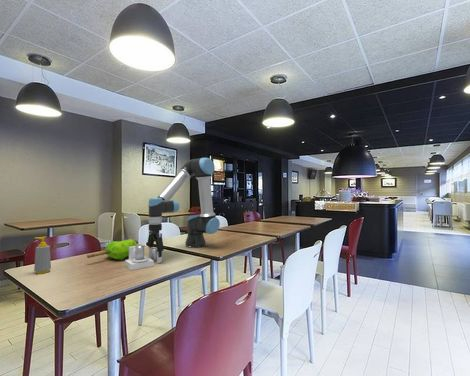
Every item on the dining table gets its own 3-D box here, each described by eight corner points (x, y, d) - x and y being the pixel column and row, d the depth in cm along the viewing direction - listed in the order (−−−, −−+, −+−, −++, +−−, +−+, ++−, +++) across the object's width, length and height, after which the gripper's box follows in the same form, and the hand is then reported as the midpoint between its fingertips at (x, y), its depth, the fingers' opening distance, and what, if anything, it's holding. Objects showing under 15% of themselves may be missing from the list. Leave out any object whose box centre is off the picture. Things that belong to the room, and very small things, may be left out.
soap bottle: (33, 271, 133) (33, 236, 133) (50, 269, 137) (50, 235, 137) (34, 275, 127) (34, 238, 128) (51, 272, 132) (51, 236, 132)
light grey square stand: (146, 261, 151) (146, 244, 151) (154, 266, 142) (154, 247, 142) (124, 265, 143) (125, 247, 144) (131, 270, 134) (131, 251, 135)
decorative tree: (80, 245, 151) (129, 236, 175) (81, 263, 151) (129, 252, 175) (95, 249, 140) (144, 239, 164) (95, 268, 140) (144, 256, 164)
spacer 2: (157, 259, 157) (157, 247, 157) (160, 260, 153) (160, 248, 153) (149, 260, 154) (150, 248, 154) (152, 262, 150) (152, 250, 151)
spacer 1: (145, 259, 142) (145, 246, 142) (136, 260, 139) (136, 247, 139) (142, 257, 145) (142, 244, 145) (134, 258, 142) (134, 246, 142)
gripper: (141, 222, 161) (141, 257, 161) (157, 226, 142) (157, 266, 142) (153, 221, 166) (153, 255, 165) (170, 225, 147) (169, 263, 146)
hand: (155, 260), depth 154 cm, fingers open, 12 cm apart
